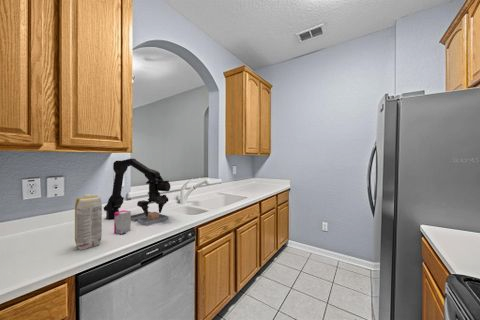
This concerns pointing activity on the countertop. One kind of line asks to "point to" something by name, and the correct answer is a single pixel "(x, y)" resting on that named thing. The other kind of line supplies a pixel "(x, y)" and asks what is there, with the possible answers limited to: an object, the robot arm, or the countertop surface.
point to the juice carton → (88, 221)
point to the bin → (138, 216)
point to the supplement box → (122, 222)
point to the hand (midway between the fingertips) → (153, 214)
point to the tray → (146, 222)
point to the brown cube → (153, 216)
